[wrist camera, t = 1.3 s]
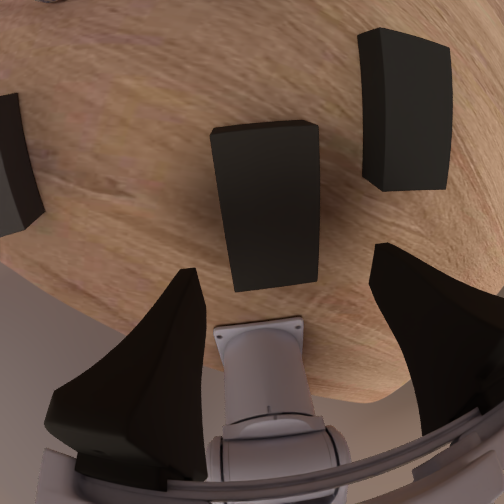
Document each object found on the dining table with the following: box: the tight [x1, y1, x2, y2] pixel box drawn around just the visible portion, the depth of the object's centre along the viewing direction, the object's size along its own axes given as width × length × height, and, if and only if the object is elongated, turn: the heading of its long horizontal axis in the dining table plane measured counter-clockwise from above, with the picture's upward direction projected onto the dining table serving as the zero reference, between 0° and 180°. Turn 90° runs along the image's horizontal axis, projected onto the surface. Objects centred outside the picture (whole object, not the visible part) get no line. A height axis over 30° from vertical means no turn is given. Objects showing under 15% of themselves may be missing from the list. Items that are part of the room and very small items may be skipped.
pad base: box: [358, 27, 453, 192], centre depth 13 cm, size 10×6×3 cm, turn 6°
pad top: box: [210, 120, 320, 292], centre depth 16 cm, size 10×6×3 cm, turn 6°
